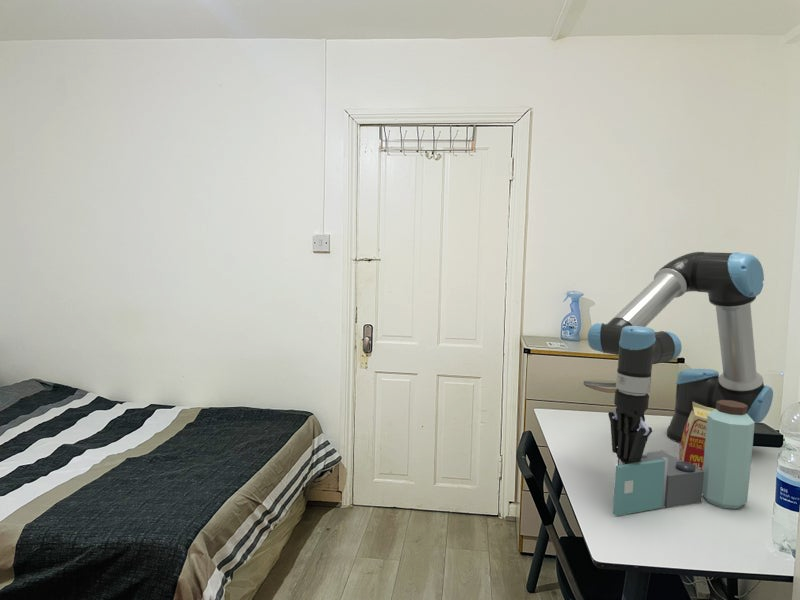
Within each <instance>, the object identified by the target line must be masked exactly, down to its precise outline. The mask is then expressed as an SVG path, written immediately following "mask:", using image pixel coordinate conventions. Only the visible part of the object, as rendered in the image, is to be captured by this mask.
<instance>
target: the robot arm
mask: <svg viewBox="0 0 800 600" xmlns="http://www.w3.org/2000/svg"><path fill="white" fill-rule="evenodd" d="M764 280H765V274H764V270H763V265H762V263H761V261H760V260H759V259H758V257H756V256H755V255H753V254H749V253H741V252H712V251H711V252H710V251H709V252H705V251H694V252H690V253H686V254H684V255H681V256H678V257H676V258H675V259H673V260H671V261H670V262H668V263H666V264H665V265H664V266H662V267H661V268H660V269H658V270H657V272H656V273H655V274H654V277H653V280H652V281H651V282H650V283H649V284H647V286H646V287H645V288H644V289H643V290H641V292H639V293H638V294H637V295H636V296H635V297H634V298H633V299H632V300H631V301H630V302H629V303H628V304H627V305H625V307H623V308H622V309H621V311H619V312H618V313H617V314H616V315H615V316H613V318H612V319H611V320H610V321H608V323H598V322H597V323H594V324H592V325H591V327H590V328H589V330H588V332H587V342H588V346H589V347H590V348H591V350H594V351H598V352H601V353H603V354H608V355H615V356H618V360H617V370H616V382H615V387H616V390H615V391H614V399H613V400H614V402H613V404H614V406H615V407H616V408H615V410H614V411H611V412H610V411H609V412H608V415H607V416H608V418H609V422H610V436H611V449H612V453H613V454H616V457H617V465H624V464H631V463H634V462H640V461H641V458H642V455H643V452H645V448H646V444H647V441H648V438H649V436H651V435H650V434H651V433H652V432H653V428H652V427H649V426H648V425H646V423H645V422H646V418H645V412H646V411H647V410H648V408H649V400H650V395H649V393H650V392H651V383H652V382H651V380H652V369H653V365H656V364H663V363H665V364H666V363H668V362H670V361H673V360H676V359H677V358H678V357H679V356H680V354H681V352H682V350H683V349H682V341H681V340H680V338H679V337H678V336H677V334H675V333H673V332H671V331H662V330H660V331H655V330H654V328H651V327H648V325H650V323H651V322H652V321H653V320H654V319H655V318H656V317H657V316H659V314H660V313H661V312H662V311H663V310H665V308H666V307H667V306H668V305H669V304H670V303H672V301H673V300H674V299H675V298H677V299H678V298H679V297H682V296H683V295H684V294H685V293H688V292H690V293H691V292H698V293H707V294H708V295H707V296H708V301H709V302H708V303H710V304H712V305H713V306H714V307H715V312H716V320H717V329H718V339H719V347H720V355H721V365H722V373H721V374H720V373H719V371H718V370H715V369H711V368H709V369H708V368H687V369H683V370H680V371H679V372H678V375H677V379H676V383H675V384H676V389H675V390H676V391H675V404H674V414H673V416H672V418H671V420H670V423H669V425H668V427H667V431H666V435H667V437H668V438H669V439H670V440H672V441H675V442H676V443H677V442H678V443H679V444H681V440H682V436H683V431H684V427H685V425H686V423H687V420H688V418H689V416H690V413H691V411H692V407H693V403H692V402H694V403H697V404H700V405H702V406H705V407H709V408H713V409H715V408H716V401H719V400H731V401H736V402H741V403H744V404H746V405H747V406H748V410H747V414H748V415H749V417H750V418H751V419H752V420H753V421H754V422H755V424H759V423H761V422H763V421H764V420H765V418H766V417H767V415H768V413H769V412H770V409H771V406H772V403H773V398H774V389H773V388H772V387H771V386H768V385H765V384H764V377H763V376H762V375H761V374H760V373H759V372H757V364H756V353H755V352H756V350H755V341H754V340H755V339H754V330H753V320H752V307H751V304H752V303H753V302H754V301H755V300H757V296H759V295H760V294H761V293H762V290H763V287H764Z"/></svg>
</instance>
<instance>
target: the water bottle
mask: <svg viewBox="0 0 800 600" xmlns="http://www.w3.org/2000/svg"><path fill="white" fill-rule="evenodd" d="M747 410H748V406H747V405H746V404H744V403H741V402H736V401H731V400H719V401H716V408H715V409H714V410H713V411H712V412H711V413H709V414H708V416H707V428H706V439H705V451H704V463H703V471H704V479H703V490H702V496H703V498H704V499H706V501H707V502H708V503H710V504H713V505H715V506H717V507H720V508H722V509H730V510H733V509H734V510H737V509H739V508H741V507H743V506H744V505H746V503H747V502H748V498H749V497H748V496H749V487H750V486H749V485H750V477H751V465H752V454H753V447H754V446H753V445H754V436H755V435H754V434H755V425H756V423H755V422H754V421H753V420H752V419H751V418H750V417H749V415H748V414H747Z"/></svg>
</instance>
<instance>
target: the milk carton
mask: <svg viewBox="0 0 800 600" xmlns="http://www.w3.org/2000/svg"><path fill="white" fill-rule="evenodd" d="M692 403H693V407H692V411H691V413H690V416H689V418H688V420H687V423H686V425H685V427H684V431H683V436H682V440H681V443H679V453H678V454H679V456H678V457H679V458H678V459H680V460H682V461H684V462H688V463H691V464H694V465H695V466H696V468H698V469H700V470H702V471H703V463H704V451H705V439H706V428H707V416H708V414H709V413H711V412H712V411H713V410H714V409H713V408H709V407H705V406H702V405H700V404H697V403H694V402H692Z"/></svg>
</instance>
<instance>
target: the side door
mask: <svg viewBox="0 0 800 600" xmlns="http://www.w3.org/2000/svg"><path fill="white" fill-rule="evenodd" d="M667 466H668V458H666V457H662V459H659V460H652V461H645V462H638V463H631V464H624V465H618V464H617V465H615V475H614V486H613V487H614V489H613V490H614V491H613V504H612V515H614V516H616V517H617V516H618V517H619V516H624V515H628V514H634V513H635V514H636V513H640V512H645V511H650V510H656V509H663V508H665V506H664V504H665V491H666V478H667Z"/></svg>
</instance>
